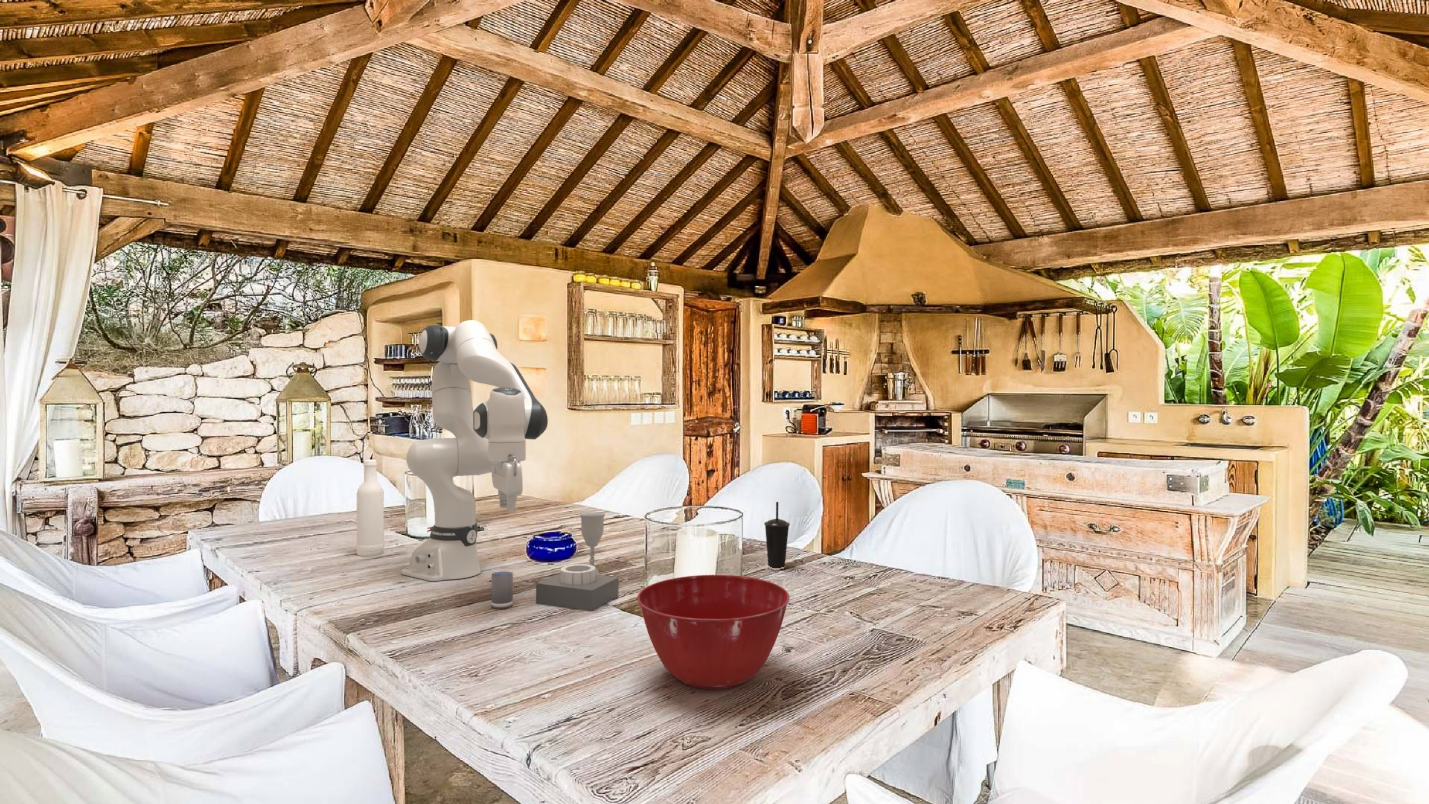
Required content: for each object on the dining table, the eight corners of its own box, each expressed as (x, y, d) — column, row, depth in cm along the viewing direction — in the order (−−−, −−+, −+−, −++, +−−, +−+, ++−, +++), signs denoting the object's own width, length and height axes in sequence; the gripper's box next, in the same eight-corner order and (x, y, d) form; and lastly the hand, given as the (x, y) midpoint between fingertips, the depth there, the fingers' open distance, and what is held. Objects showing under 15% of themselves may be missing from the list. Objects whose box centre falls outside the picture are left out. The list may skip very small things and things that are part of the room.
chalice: (607, 575, 207) (608, 512, 206) (601, 581, 200) (602, 516, 200) (582, 574, 207) (583, 511, 207) (576, 580, 201) (576, 515, 200)
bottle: (350, 555, 227) (350, 460, 226) (366, 550, 235) (366, 458, 234) (373, 557, 226) (373, 461, 225) (389, 551, 234) (389, 459, 233)
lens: (486, 608, 175) (486, 575, 175) (500, 602, 179) (500, 570, 179) (503, 610, 173) (504, 577, 173) (517, 605, 178) (517, 572, 177)
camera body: (536, 603, 179) (536, 571, 179) (565, 589, 191) (565, 559, 191) (591, 611, 173) (592, 577, 173) (618, 596, 185) (618, 565, 185)
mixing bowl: (667, 720, 117) (668, 625, 116) (618, 659, 143) (619, 581, 142) (817, 692, 128) (818, 606, 128) (746, 640, 154) (747, 568, 154)
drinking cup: (790, 571, 212) (791, 504, 212) (764, 571, 212) (765, 503, 212) (788, 565, 220) (788, 500, 219) (763, 565, 220) (763, 499, 219)
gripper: (529, 455, 169) (529, 514, 169) (512, 451, 187) (512, 504, 187) (501, 456, 166) (501, 516, 166) (487, 451, 184) (487, 505, 184)
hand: (507, 510), depth 177 cm, fingers open, 8 cm apart
